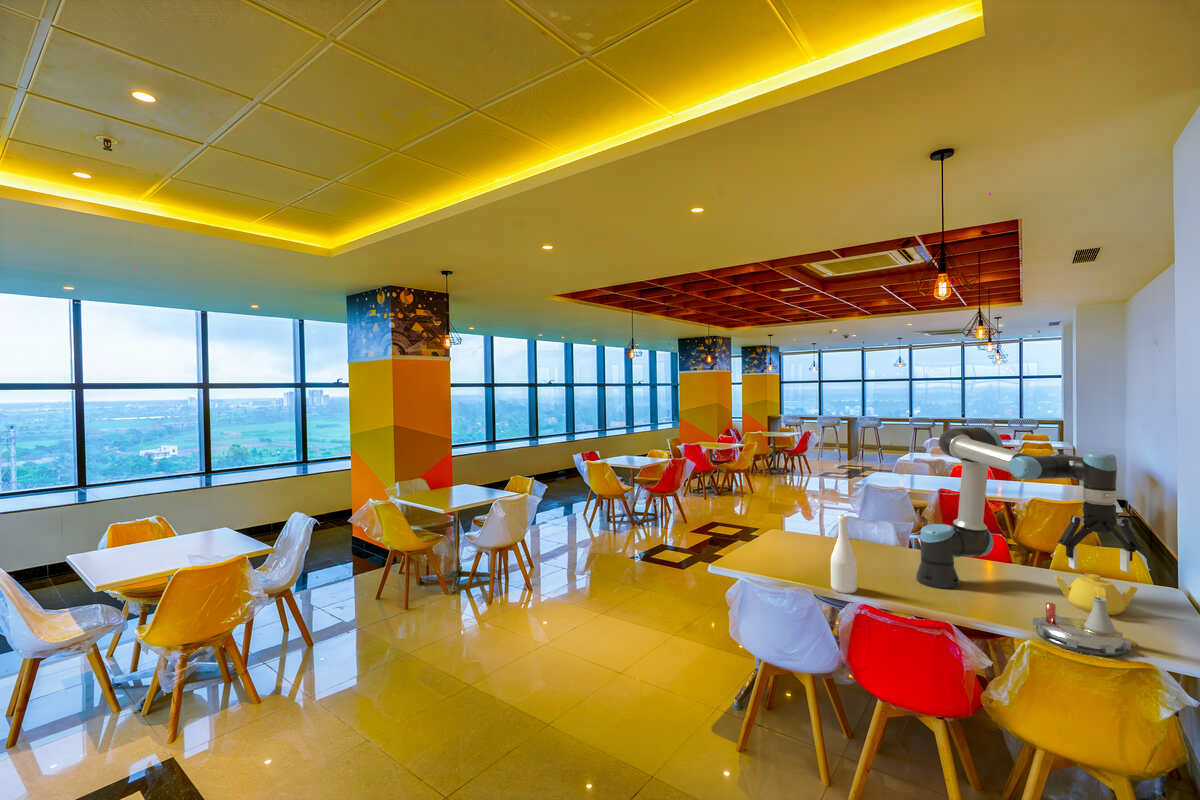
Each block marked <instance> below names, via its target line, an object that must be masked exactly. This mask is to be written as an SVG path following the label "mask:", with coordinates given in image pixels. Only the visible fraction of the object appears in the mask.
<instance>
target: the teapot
mask: <svg viewBox="0 0 1200 800" xmlns="http://www.w3.org/2000/svg"><path fill="white" fill-rule="evenodd" d="M1054 579H1055V580H1056V582H1057V584H1058V586H1059V588H1060V590H1061V592H1062V595H1063V596H1064V597H1065V598H1066V599H1067V601H1068V602H1069V603H1070V604H1071V605H1072V606H1073V607H1075V608H1076V609H1078V610H1081V611H1084V612H1086V613H1087V612H1088V613H1091V611H1092V609H1093V605H1094V600H1093V599H1092V598H1093V597H1100V598H1104V599H1106V600H1107V602H1106V608H1107V612H1108V615H1109V616H1117V615H1120V614H1122V613H1123V612H1124V611H1125V610H1126V608H1128V606H1129V604H1130V602H1131V601H1132V600H1133V597H1134V596H1135V595H1136V592H1137V590H1138V587H1137V586H1129V587H1128V588H1127V589H1126V590H1125V591H1124V592H1123V593H1122V594H1121V592H1120V591H1119V590H1118V588H1117V587H1116V586H1115V585H1114V583H1113V582H1112V581H1109V580H1108V579H1104V578H1102V577H1101V575H1099V574H1094V573H1093V574H1092V573H1090V572H1088V573H1087V572H1083V576H1078V577H1077V578H1076V579H1074V580H1073V582H1072V583H1071V584H1070V585H1069V586H1067V584H1066V583H1065V582H1064V580H1063V578H1062V577H1061V576H1060V577H1058V576H1055V577H1054Z"/></svg>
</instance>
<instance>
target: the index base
mask: <svg viewBox="0 0 1200 800" xmlns="http://www.w3.org/2000/svg"><path fill="white" fill-rule="evenodd" d="M1036 634H1037V635H1038V636H1039V637H1040V638H1042V639H1043V640H1044V641H1047V642H1048V643H1051V644H1053V645H1055V646H1058V647H1059V648H1060V647H1061V648H1063V649H1066V650H1069V651H1072V652H1073V651H1074V652H1076V653H1082V654H1084V655H1085V654H1086V655H1091V656H1099V657H1113V658H1114V657H1121V656H1123V655H1126V654H1127V651H1128V650H1127V649H1124V648H1123V649H1122V650H1119V651H1115V653H1105V652H1103V651H1096V650H1089V649H1084V648H1080V647H1078V648H1074V647H1070V646H1067V645H1066V644H1065V643H1062V642H1059V641H1057V640H1054V639H1052V638H1050V637H1048V636H1042V635H1041V634H1039V633H1038V626H1036ZM1123 638H1124V640H1126V641H1130V642H1131V647H1134V648H1135V647H1136V648H1137V647H1138V642H1136V641H1135V640H1133V639H1132V638H1129V637H1123Z"/></svg>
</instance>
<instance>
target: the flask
mask: <svg viewBox="0 0 1200 800" xmlns="http://www.w3.org/2000/svg"><path fill="white" fill-rule="evenodd" d="M1092 599H1093V600H1094V605H1093V609H1092V611H1091V612H1089V615H1088V617H1087V619H1086V620H1087V621H1086V622H1085V624H1084V627H1085V628H1087V629H1088V630H1090V631H1093V632H1096V633H1099V634H1108V635H1113V634H1116V633H1117V632H1116V630H1117V629H1116V628H1115V626H1114V624H1113V622H1112V620H1111V617H1110V615H1108V612H1107V608H1106V602H1107V600H1106V599H1104V598H1100V597H1093V598H1092ZM1115 629H1116V630H1115Z"/></svg>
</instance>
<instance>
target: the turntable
mask: <svg viewBox="0 0 1200 800" xmlns="http://www.w3.org/2000/svg"><path fill="white" fill-rule="evenodd" d="M1056 607H1057V606H1056V603H1052V602H1046V603H1045V616H1043V617H1040V618H1038V617H1033V618H1032V625H1033V626H1036V627H1037V626H1038V633H1039V634H1041V635H1042V636H1048V637H1050V638H1052V639H1054V640H1057V641H1059V642H1062V643H1065V644H1066V645H1067V646H1070V647H1074V648H1078V647H1080V648H1084V649H1089V650H1096V651H1103V652H1105V653H1115V651H1119V650H1122V649H1123V648H1124V649H1127V651H1130V650H1131V649H1132V646H1131V642H1130V641H1126V640H1124V638H1125V637H1123V636H1124V635H1123V634H1124V633H1123V632H1122V631H1120V630H1118V629H1116V628H1115V630H1116V632H1117V633H1116V634H1113V635H1108V634H1099V633H1096V632H1093V631H1090V630H1088V629H1087V628H1085V627H1084V624H1085V622H1086V621H1087V619H1085V618H1080V619H1079V618H1075V617H1068V616H1059V615H1057V614H1056V613H1057V611H1056Z"/></svg>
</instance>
